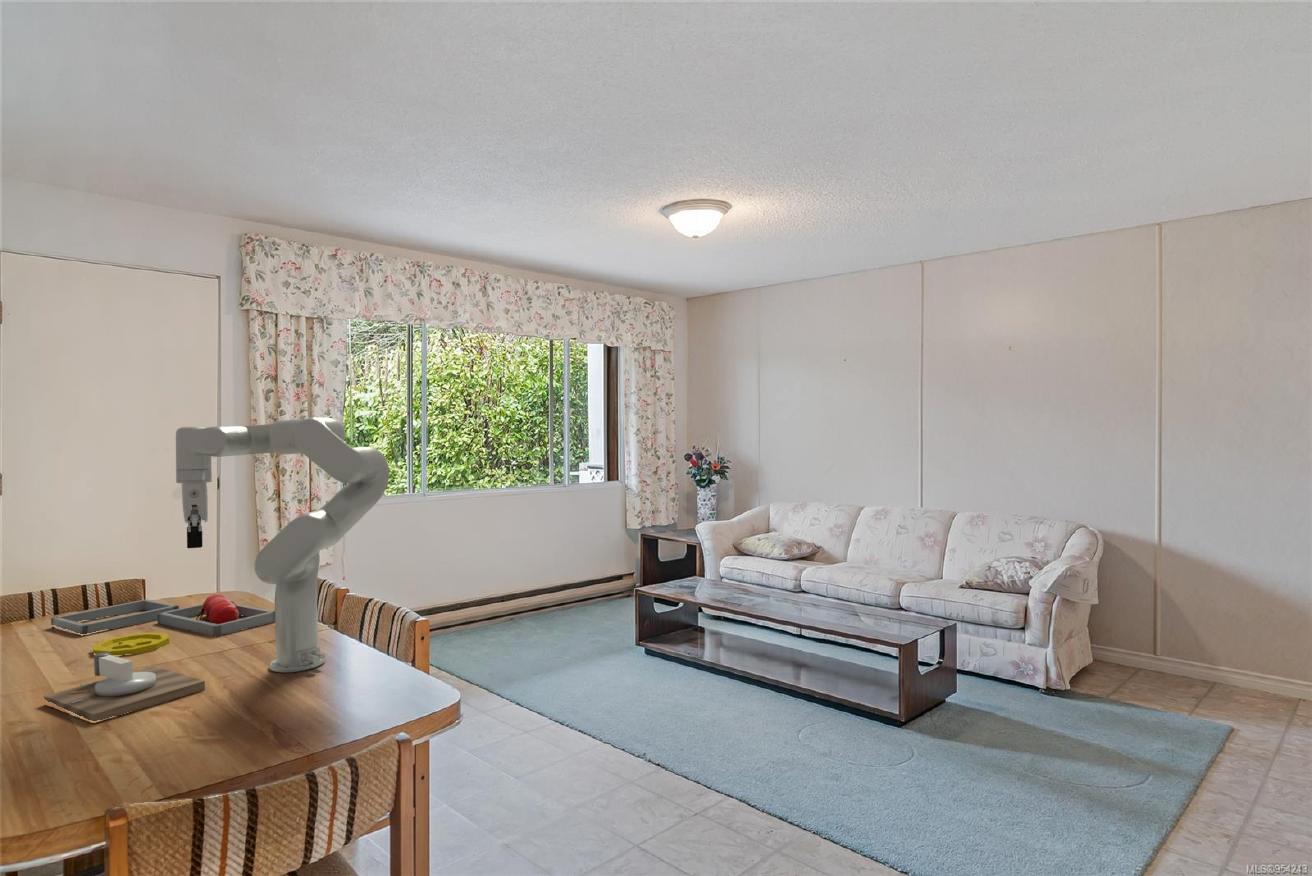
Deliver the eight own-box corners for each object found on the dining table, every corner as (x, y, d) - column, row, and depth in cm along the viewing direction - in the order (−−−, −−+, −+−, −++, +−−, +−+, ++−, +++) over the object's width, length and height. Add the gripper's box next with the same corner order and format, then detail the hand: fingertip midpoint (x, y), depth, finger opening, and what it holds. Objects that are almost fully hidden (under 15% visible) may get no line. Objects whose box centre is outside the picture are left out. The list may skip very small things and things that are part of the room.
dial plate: (204, 689, 170) (204, 680, 170) (93, 724, 151) (93, 713, 151) (154, 674, 182) (153, 665, 181) (44, 705, 162) (43, 694, 162)
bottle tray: (277, 621, 229) (277, 611, 229) (216, 636, 213) (216, 626, 213) (218, 609, 245) (218, 600, 245) (157, 623, 229) (157, 613, 229)
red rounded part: (193, 613, 215) (184, 597, 235) (199, 639, 216) (190, 622, 236) (239, 599, 222) (227, 586, 242) (245, 625, 223) (233, 609, 243)
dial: (165, 683, 168) (165, 658, 168) (110, 699, 159) (109, 672, 159) (126, 671, 177) (125, 647, 177) (71, 686, 168) (70, 660, 168)
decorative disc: (103, 644, 209) (103, 637, 209) (176, 636, 215) (176, 630, 215) (81, 662, 193) (81, 654, 193) (161, 653, 200) (161, 646, 200)
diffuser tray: (179, 615, 239) (178, 605, 239) (82, 636, 216) (81, 626, 216) (147, 608, 249) (146, 599, 249) (51, 627, 226) (51, 618, 226)
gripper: (212, 478, 181) (213, 548, 182) (210, 473, 196) (211, 539, 196) (175, 479, 177) (176, 551, 178) (176, 474, 192) (177, 541, 192)
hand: (194, 544), depth 187 cm, fingers open, 9 cm apart
